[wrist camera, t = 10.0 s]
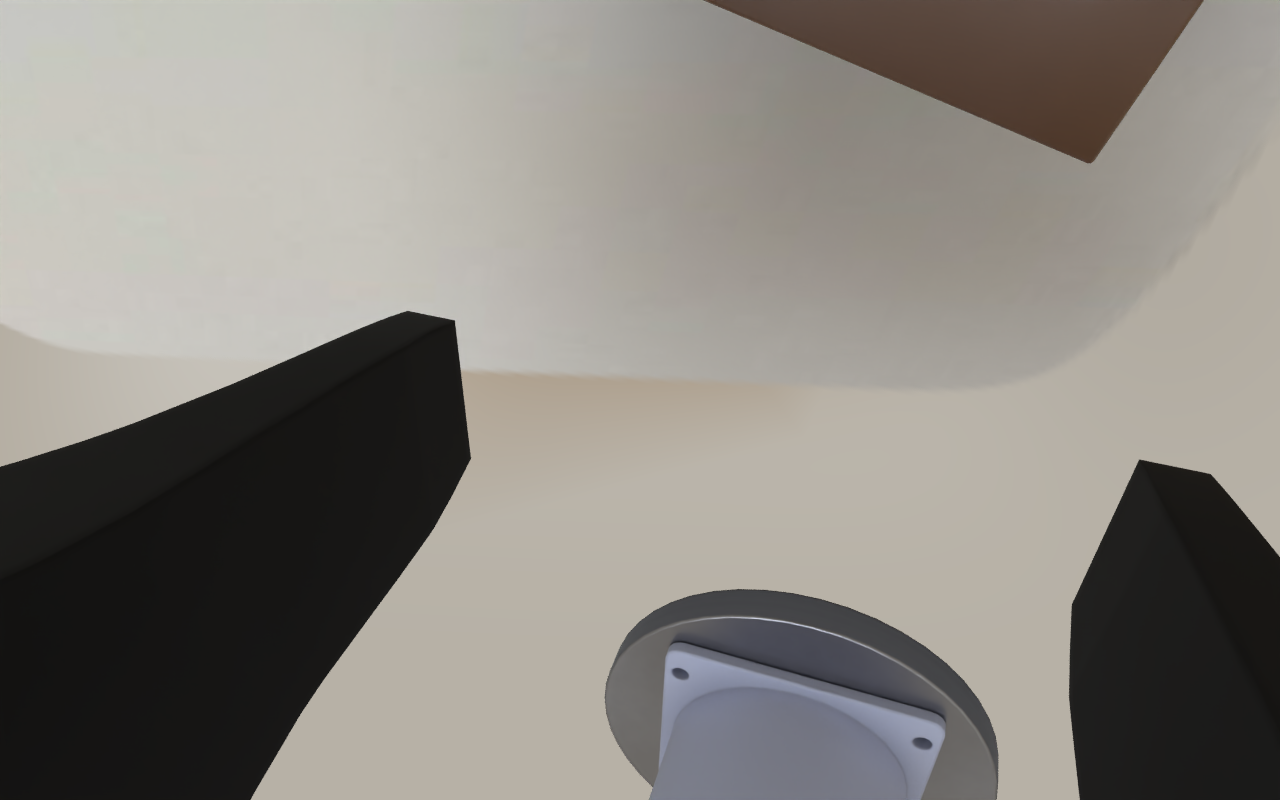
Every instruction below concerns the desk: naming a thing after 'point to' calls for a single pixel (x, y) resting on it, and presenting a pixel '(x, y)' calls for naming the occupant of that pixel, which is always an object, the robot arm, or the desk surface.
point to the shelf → (999, 54)
